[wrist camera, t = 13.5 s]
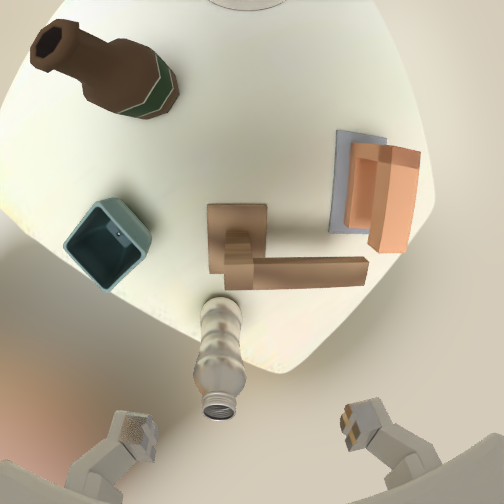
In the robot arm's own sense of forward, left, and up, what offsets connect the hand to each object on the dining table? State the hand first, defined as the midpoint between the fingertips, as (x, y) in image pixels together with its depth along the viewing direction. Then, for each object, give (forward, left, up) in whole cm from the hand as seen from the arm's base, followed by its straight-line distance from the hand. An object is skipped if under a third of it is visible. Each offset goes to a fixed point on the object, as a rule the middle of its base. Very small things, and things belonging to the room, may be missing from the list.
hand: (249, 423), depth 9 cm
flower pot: (+1, -16, -31) cm, 35 cm away
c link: (-5, +18, -30) cm, 35 cm away
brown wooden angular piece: (+3, +5, -31) cm, 31 cm away
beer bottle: (-18, -11, -31) cm, 37 cm away
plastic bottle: (+15, -2, -31) cm, 34 cm away
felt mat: (-5, +18, -31) cm, 36 cm away
